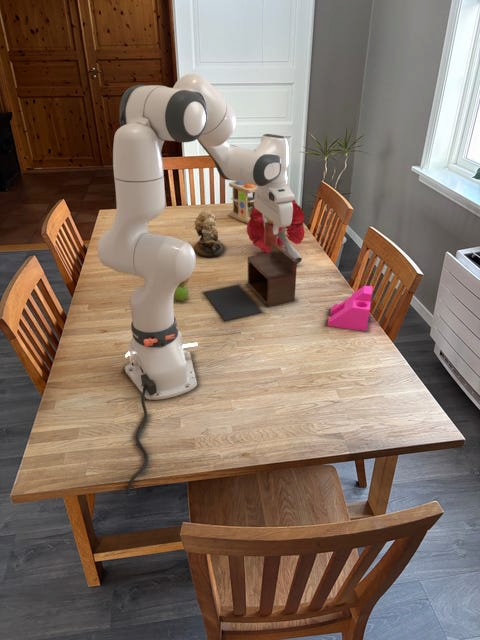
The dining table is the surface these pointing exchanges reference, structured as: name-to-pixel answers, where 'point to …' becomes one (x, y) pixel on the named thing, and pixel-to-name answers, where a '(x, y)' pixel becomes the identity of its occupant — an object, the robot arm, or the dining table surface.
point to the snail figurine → (181, 291)
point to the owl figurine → (207, 235)
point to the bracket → (352, 310)
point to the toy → (269, 234)
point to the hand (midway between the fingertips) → (271, 230)
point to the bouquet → (294, 231)
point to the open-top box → (273, 276)
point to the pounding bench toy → (242, 200)
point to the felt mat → (232, 302)
